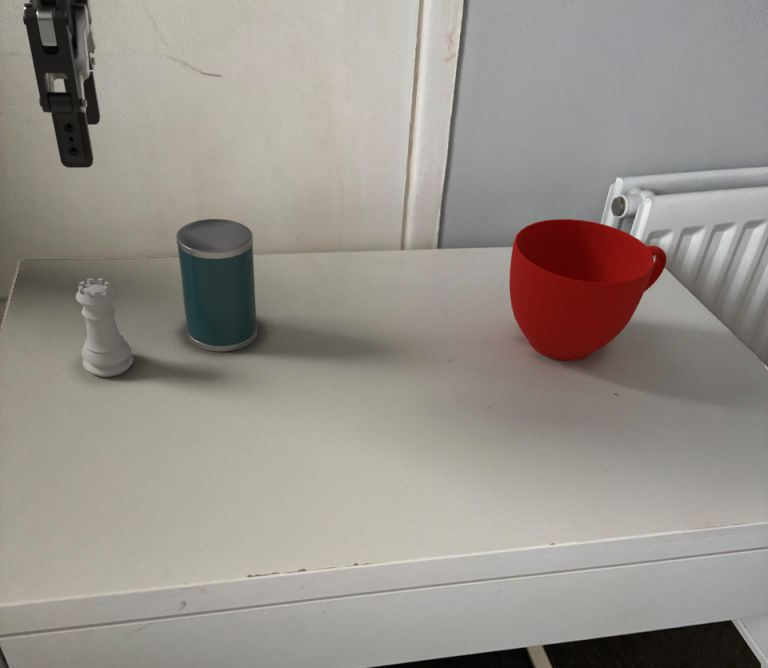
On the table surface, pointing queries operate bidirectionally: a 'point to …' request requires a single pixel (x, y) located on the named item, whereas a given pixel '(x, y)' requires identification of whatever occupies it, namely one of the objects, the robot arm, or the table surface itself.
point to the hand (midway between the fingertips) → (82, 143)
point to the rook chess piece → (102, 331)
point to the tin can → (218, 283)
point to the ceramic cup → (578, 284)
